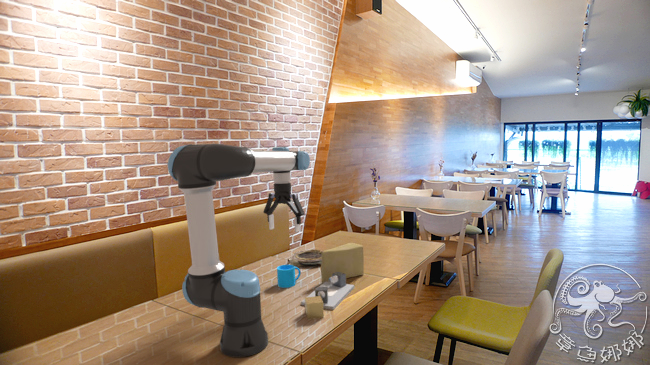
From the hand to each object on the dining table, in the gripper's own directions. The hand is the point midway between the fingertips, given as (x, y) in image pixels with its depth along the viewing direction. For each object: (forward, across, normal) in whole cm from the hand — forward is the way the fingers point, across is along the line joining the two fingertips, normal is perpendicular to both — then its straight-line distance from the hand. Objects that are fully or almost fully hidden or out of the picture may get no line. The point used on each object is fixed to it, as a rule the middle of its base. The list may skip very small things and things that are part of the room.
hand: (284, 230), depth 166 cm
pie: (+27, +10, -38) cm, 48 cm away
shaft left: (+25, -22, +7) cm, 34 cm away
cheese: (+27, -16, -22) cm, 38 cm away
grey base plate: (+26, -21, 0) cm, 34 cm away
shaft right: (+25, -21, -8) cm, 34 cm away
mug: (+27, +2, -6) cm, 27 cm away
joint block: (+27, -25, +18) cm, 41 cm away
